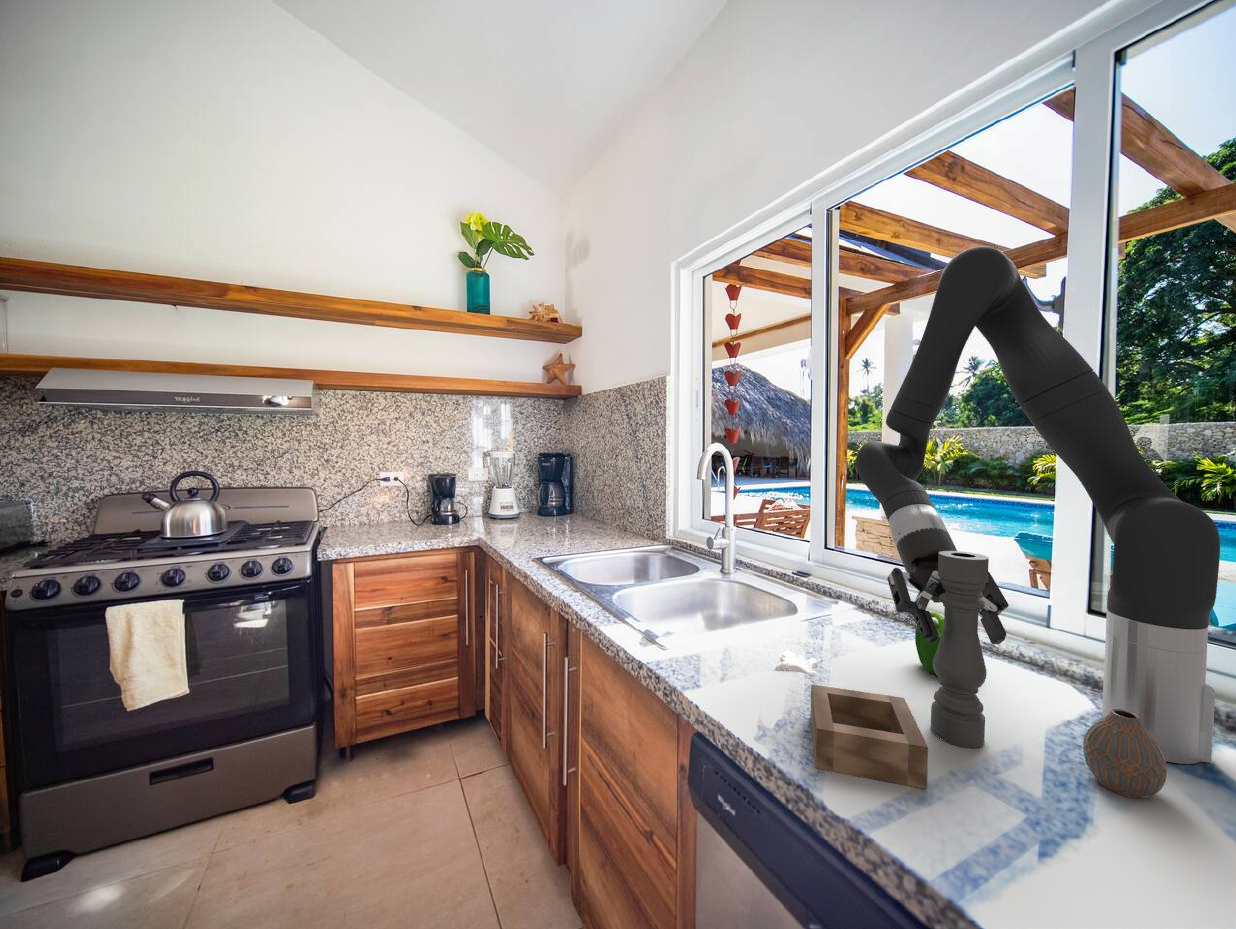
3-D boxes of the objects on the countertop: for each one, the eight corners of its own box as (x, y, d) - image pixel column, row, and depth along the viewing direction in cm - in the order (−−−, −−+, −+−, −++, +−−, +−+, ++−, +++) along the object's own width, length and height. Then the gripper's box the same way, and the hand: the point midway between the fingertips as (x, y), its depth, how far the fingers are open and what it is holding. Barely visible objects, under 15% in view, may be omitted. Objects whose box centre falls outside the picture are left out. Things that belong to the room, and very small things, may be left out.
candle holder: (932, 740, 68) (938, 556, 67) (928, 718, 73) (934, 548, 72) (988, 753, 65) (995, 562, 64) (980, 729, 70) (986, 553, 70)
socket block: (903, 733, 69) (904, 697, 69) (926, 789, 58) (928, 747, 58) (810, 717, 73) (811, 684, 73) (815, 767, 62) (816, 728, 62)
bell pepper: (979, 684, 84) (981, 626, 83) (925, 679, 86) (927, 622, 85) (956, 663, 92) (958, 609, 92) (907, 659, 94) (909, 606, 93)
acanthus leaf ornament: (775, 673, 89) (775, 663, 89) (778, 658, 95) (778, 648, 95) (821, 680, 86) (821, 669, 86) (821, 664, 92) (821, 654, 92)
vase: (1079, 760, 64) (1082, 693, 63) (1158, 784, 59) (1162, 711, 59) (1084, 789, 58) (1087, 715, 58) (1171, 817, 54) (1175, 738, 54)
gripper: (883, 525, 76) (923, 627, 65) (981, 526, 75) (1037, 630, 64) (867, 552, 81) (901, 650, 70) (957, 554, 81) (1006, 654, 70)
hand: (966, 641), depth 67 cm, fingers open, 8 cm apart
